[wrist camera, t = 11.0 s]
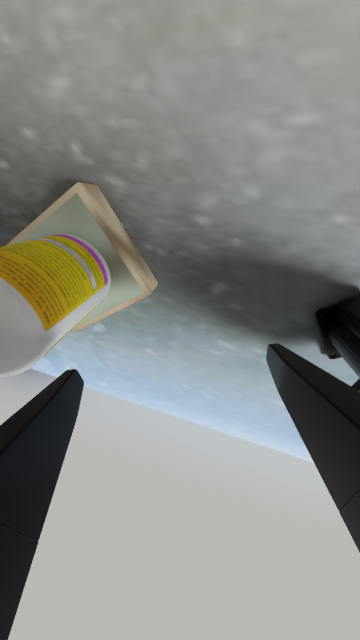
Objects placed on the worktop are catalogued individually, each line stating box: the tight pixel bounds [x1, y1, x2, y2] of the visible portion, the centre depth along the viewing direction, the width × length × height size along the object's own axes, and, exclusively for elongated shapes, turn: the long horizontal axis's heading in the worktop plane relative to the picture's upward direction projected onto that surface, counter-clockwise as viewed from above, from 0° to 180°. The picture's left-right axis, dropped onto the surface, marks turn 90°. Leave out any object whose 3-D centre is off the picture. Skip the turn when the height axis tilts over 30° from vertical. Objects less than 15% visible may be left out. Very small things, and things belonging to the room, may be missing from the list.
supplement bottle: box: [0, 234, 111, 377], centre depth 13 cm, size 7×7×13 cm
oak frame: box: [6, 182, 158, 332], centre depth 20 cm, size 10×10×3 cm
